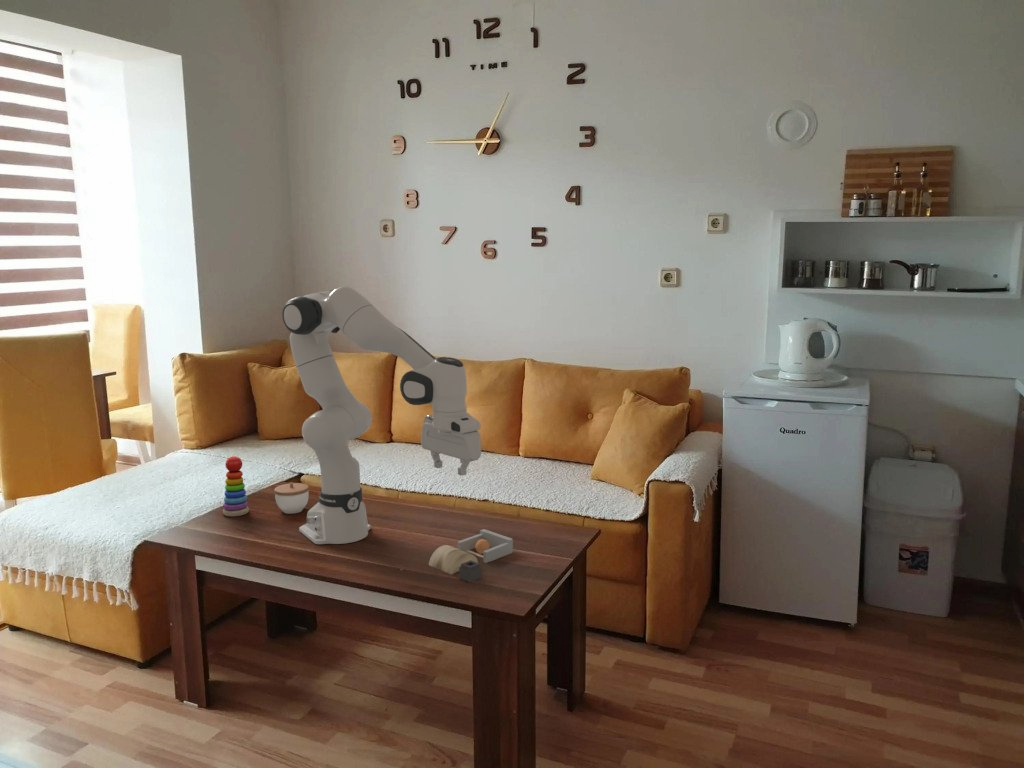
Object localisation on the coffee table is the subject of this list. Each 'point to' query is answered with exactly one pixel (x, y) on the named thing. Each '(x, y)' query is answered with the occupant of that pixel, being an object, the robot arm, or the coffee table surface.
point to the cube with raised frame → (470, 571)
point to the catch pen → (497, 543)
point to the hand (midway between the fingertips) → (450, 471)
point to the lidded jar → (292, 497)
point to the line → (474, 553)
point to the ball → (482, 546)
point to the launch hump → (450, 559)
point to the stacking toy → (234, 489)
